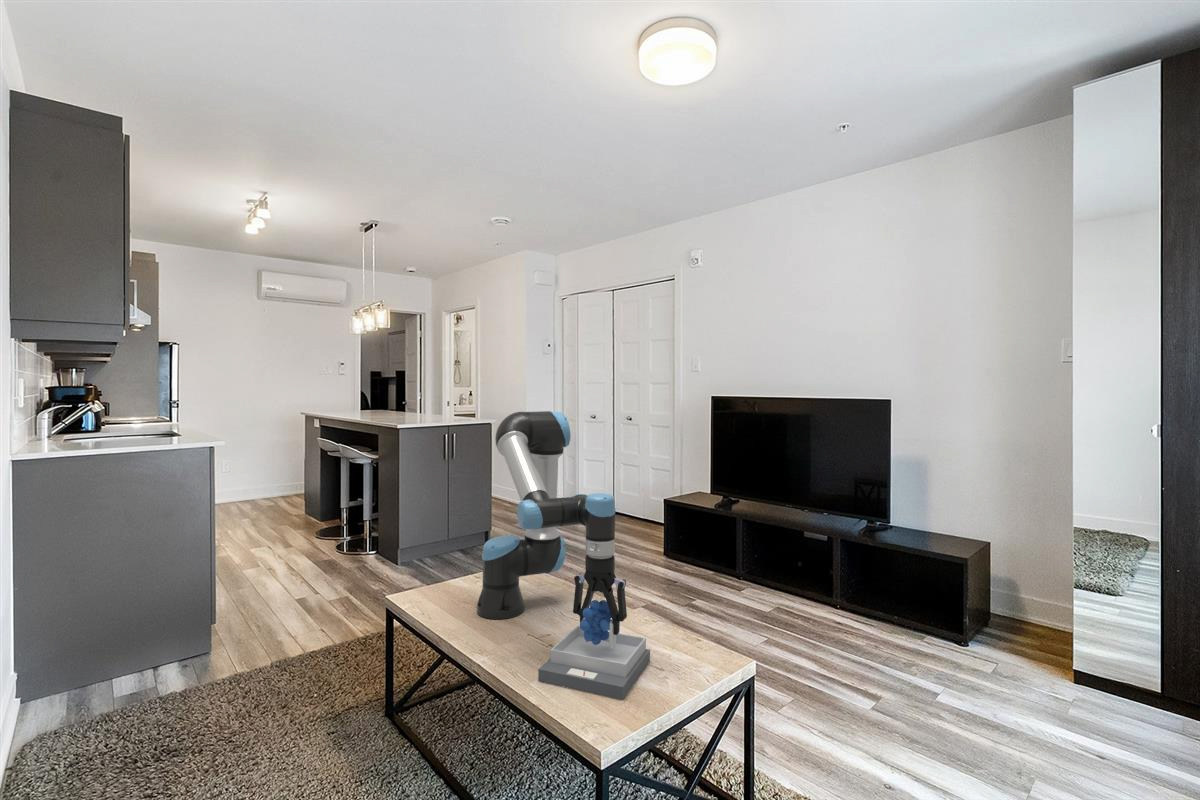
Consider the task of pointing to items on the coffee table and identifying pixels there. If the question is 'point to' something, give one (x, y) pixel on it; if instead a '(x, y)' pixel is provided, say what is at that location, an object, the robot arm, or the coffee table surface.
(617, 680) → the scale
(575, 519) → the robot arm
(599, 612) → the grapes
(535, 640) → the coffee table surface
